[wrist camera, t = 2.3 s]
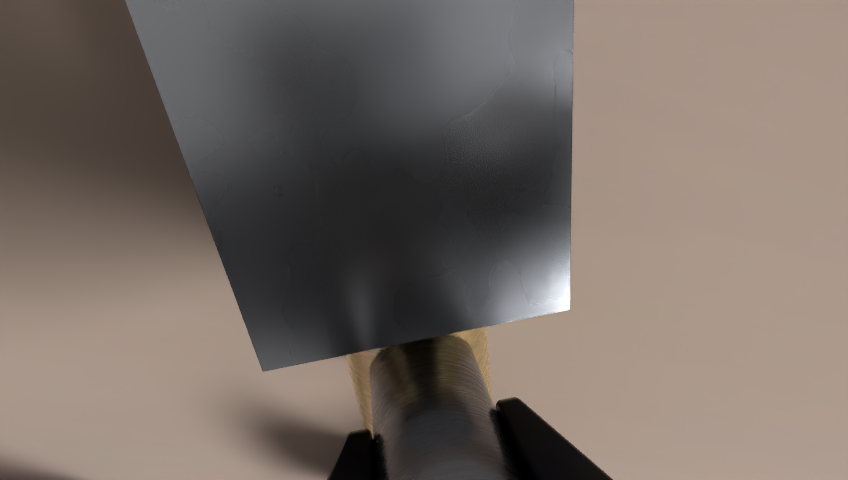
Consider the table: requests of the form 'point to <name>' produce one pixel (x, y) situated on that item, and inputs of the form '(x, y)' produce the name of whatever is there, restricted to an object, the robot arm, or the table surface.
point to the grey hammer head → (374, 161)
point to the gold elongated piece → (432, 410)
